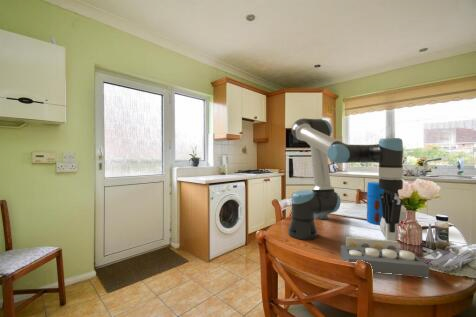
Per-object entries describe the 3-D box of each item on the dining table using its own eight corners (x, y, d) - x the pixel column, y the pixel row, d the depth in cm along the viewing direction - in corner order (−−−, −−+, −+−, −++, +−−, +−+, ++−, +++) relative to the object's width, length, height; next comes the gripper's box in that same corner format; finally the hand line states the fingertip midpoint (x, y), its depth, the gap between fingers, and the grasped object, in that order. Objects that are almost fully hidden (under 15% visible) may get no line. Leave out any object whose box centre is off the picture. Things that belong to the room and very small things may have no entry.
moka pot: (307, 216, 151) (307, 187, 151) (325, 214, 156) (325, 186, 156) (315, 220, 142) (316, 190, 142) (335, 218, 147) (335, 189, 146)
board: (348, 270, 82) (349, 258, 82) (340, 255, 94) (340, 245, 94) (428, 278, 77) (429, 266, 76) (409, 261, 88) (409, 251, 88)
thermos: (391, 224, 135) (391, 184, 135) (379, 226, 131) (379, 185, 131) (374, 219, 146) (375, 181, 145) (362, 220, 142) (363, 182, 141)
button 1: (350, 262, 85) (350, 254, 85) (347, 256, 90) (347, 249, 90) (363, 263, 84) (363, 255, 84) (359, 257, 89) (359, 250, 89)
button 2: (367, 259, 84) (367, 252, 84) (363, 254, 88) (363, 247, 88) (381, 261, 83) (381, 253, 83) (376, 255, 87) (376, 248, 87)
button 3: (385, 261, 83) (385, 253, 83) (379, 255, 87) (380, 248, 87) (398, 262, 82) (399, 254, 82) (392, 257, 86) (392, 249, 86)
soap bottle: (413, 238, 113) (413, 199, 113) (419, 242, 108) (420, 202, 108) (379, 235, 116) (379, 198, 116) (383, 239, 111) (384, 200, 110)
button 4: (403, 263, 81) (403, 255, 81) (396, 257, 86) (396, 249, 86) (417, 264, 80) (417, 256, 80) (410, 258, 85) (410, 250, 85)
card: (346, 253, 95) (346, 238, 95) (345, 252, 96) (346, 237, 96) (398, 258, 91) (398, 241, 91) (396, 257, 92) (397, 240, 92)
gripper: (411, 180, 76) (411, 247, 77) (393, 177, 89) (393, 234, 89) (387, 180, 78) (387, 245, 78) (372, 176, 91) (372, 233, 91)
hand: (390, 239), depth 84 cm, fingers closed
